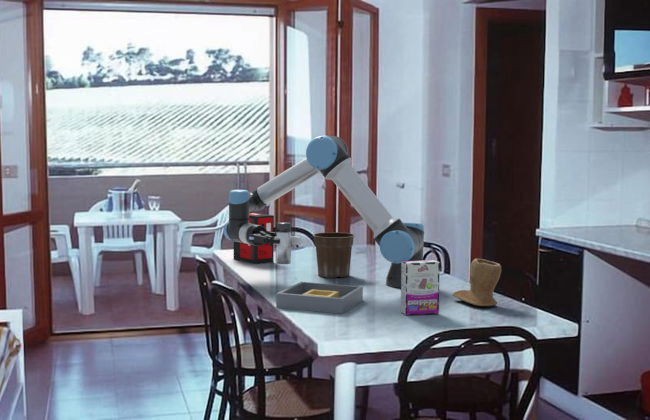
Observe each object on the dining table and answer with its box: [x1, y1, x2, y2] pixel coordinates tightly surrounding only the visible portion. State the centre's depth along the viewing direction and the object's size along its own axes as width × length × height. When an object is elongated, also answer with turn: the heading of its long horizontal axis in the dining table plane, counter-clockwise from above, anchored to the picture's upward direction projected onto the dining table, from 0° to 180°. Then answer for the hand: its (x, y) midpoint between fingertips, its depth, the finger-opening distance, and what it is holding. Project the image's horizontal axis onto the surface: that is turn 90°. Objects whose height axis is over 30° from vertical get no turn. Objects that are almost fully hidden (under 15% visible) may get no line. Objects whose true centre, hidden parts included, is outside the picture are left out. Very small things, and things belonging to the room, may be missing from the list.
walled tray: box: [275, 281, 364, 314], centre depth 265 cm, size 22×22×4 cm
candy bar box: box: [400, 259, 441, 316], centre depth 253 cm, size 11×5×16 cm, turn 105°
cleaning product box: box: [233, 212, 275, 265], centre depth 349 cm, size 16×9×20 cm, turn 42°
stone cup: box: [452, 258, 502, 307], centre depth 269 cm, size 15×12×15 cm
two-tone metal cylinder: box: [275, 221, 292, 265], centre depth 284 cm, size 5×5×14 cm
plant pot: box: [312, 231, 356, 279], centre depth 317 cm, size 16×16×16 cm
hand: (293, 242), depth 280 cm, fingers closed on two-tone metal cylinder, 5 cm apart
